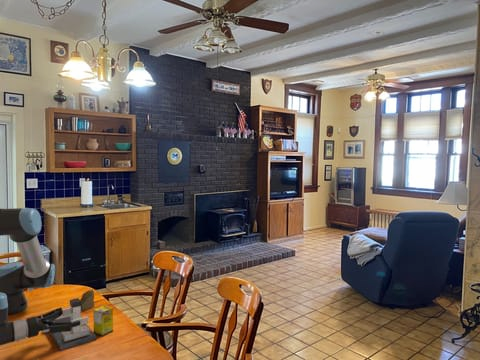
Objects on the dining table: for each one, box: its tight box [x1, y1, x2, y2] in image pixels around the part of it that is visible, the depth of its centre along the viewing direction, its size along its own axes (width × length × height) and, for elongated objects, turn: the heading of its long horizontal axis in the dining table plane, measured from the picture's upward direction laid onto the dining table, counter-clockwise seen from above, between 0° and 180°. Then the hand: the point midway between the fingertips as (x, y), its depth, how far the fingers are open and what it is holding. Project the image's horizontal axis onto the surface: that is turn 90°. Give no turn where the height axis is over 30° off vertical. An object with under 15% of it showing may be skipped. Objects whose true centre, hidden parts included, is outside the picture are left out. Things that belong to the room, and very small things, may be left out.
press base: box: [49, 314, 97, 351], centre depth 159 cm, size 24×14×5 cm, turn 39°
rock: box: [80, 289, 95, 312], centre depth 186 cm, size 11×9×10 cm
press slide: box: [62, 297, 91, 342], centre depth 153 cm, size 5×10×15 cm, turn 129°
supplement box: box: [93, 305, 114, 337], centre depth 161 cm, size 6×6×11 cm
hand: (83, 314), depth 155 cm, fingers open, 13 cm apart
